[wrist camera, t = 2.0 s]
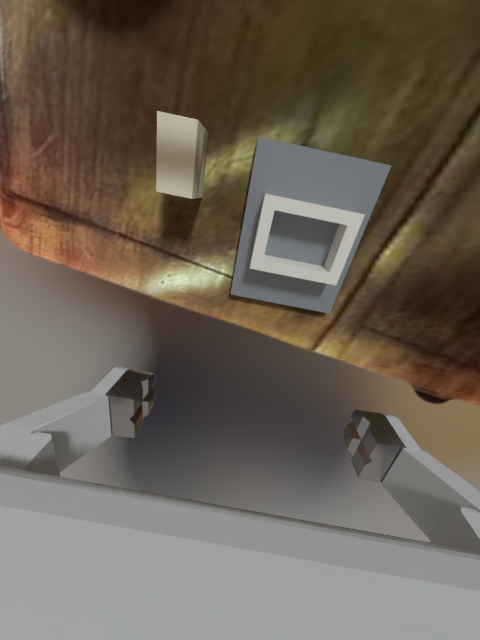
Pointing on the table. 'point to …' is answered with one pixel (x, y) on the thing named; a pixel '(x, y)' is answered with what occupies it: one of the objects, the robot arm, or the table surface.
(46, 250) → the table surface
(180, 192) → the key block
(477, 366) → the table surface
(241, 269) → the cradle
